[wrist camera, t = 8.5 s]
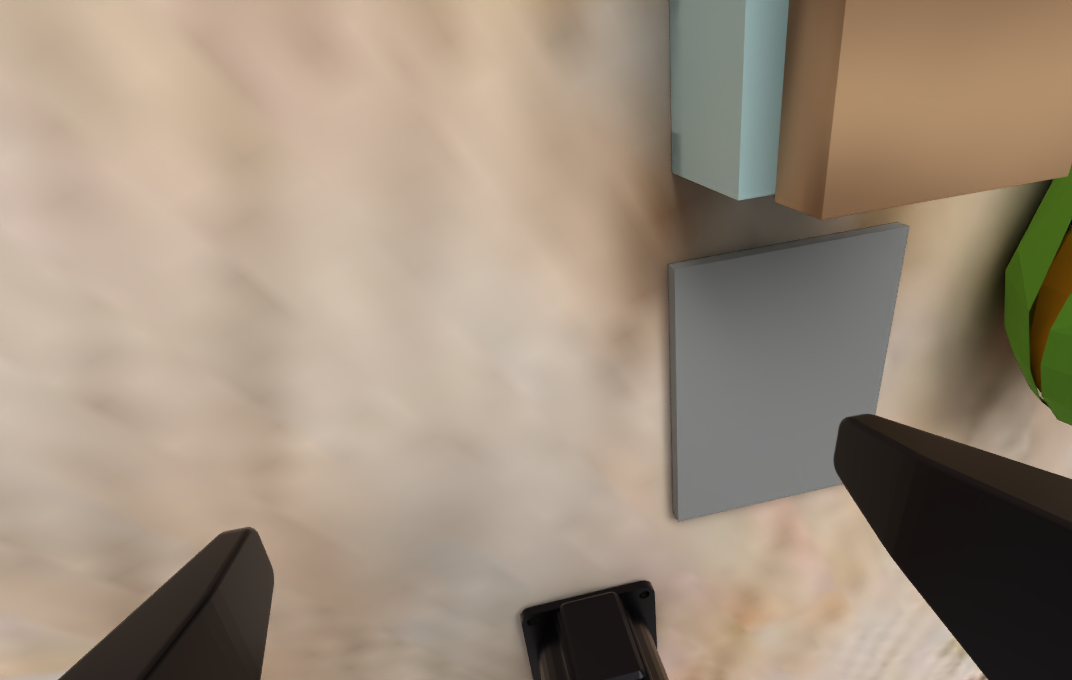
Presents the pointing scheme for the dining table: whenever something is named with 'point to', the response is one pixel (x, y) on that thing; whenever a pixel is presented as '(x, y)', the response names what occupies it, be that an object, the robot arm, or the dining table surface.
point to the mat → (775, 363)
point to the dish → (727, 93)
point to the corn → (1044, 300)
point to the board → (921, 101)
